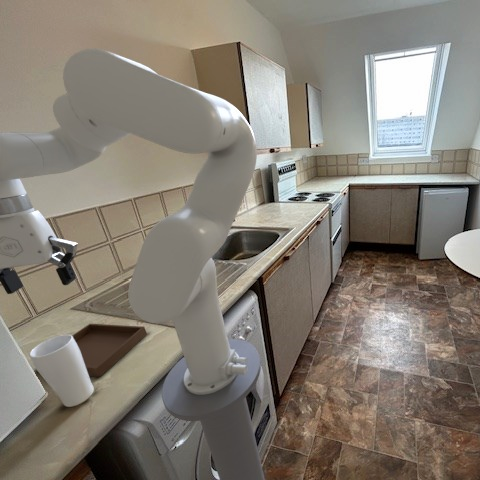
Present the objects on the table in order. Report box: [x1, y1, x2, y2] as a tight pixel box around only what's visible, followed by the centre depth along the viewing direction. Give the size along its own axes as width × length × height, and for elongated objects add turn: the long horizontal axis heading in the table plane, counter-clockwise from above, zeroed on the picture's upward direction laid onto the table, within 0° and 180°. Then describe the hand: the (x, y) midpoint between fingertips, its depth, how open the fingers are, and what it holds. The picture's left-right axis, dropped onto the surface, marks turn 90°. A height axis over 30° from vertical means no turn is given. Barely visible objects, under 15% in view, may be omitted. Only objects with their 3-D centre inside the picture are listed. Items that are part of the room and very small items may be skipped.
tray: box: [36, 323, 148, 378], centre depth 73 cm, size 19×15×3 cm
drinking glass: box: [29, 334, 95, 408], centre depth 57 cm, size 7×7×15 cm
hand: (43, 286), depth 56 cm, fingers open, 9 cm apart
